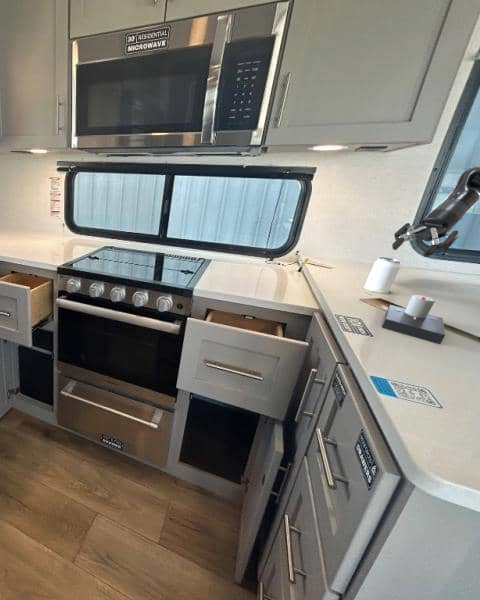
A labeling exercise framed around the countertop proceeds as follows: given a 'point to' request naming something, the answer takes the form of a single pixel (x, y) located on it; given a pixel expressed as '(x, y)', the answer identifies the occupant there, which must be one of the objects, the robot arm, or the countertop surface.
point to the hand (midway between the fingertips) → (408, 251)
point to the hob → (414, 324)
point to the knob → (419, 306)
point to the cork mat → (379, 303)
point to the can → (383, 275)
